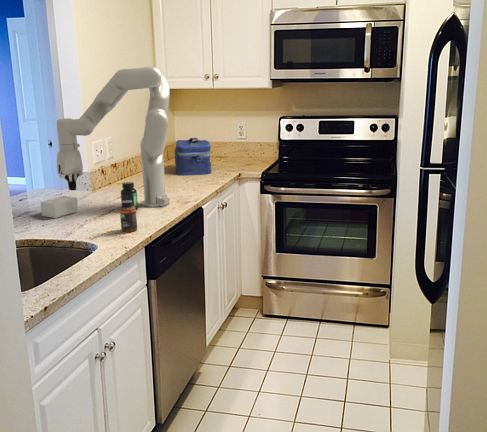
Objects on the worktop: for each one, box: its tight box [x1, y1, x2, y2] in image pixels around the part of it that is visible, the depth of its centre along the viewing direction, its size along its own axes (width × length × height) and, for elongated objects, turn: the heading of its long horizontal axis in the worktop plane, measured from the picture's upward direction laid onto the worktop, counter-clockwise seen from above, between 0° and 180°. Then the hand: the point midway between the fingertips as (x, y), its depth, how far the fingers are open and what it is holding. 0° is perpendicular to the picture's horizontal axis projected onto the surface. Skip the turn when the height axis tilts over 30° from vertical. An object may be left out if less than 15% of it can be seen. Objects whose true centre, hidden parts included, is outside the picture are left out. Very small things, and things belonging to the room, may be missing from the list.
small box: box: [40, 195, 79, 219], centre depth 238 cm, size 8×6×13 cm
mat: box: [28, 212, 75, 221], centre depth 238 cm, size 12×14×1 cm
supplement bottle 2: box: [119, 200, 138, 233], centre depth 210 cm, size 6×6×11 cm
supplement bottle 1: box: [120, 181, 139, 211], centre depth 242 cm, size 7×7×12 cm
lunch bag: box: [174, 137, 212, 177], centre depth 333 cm, size 31×21×20 cm
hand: (72, 189), depth 243 cm, fingers closed
